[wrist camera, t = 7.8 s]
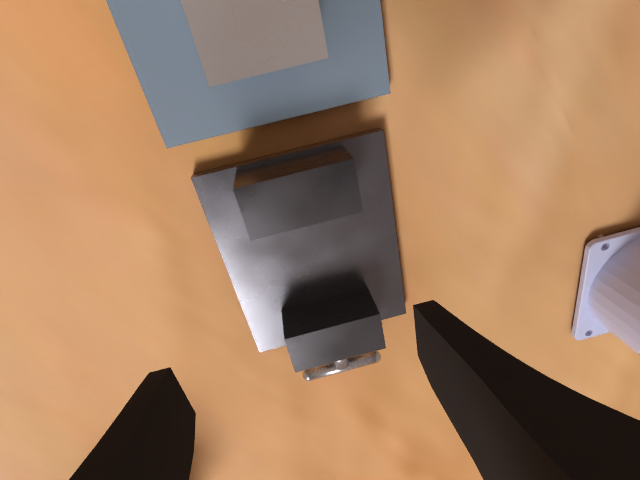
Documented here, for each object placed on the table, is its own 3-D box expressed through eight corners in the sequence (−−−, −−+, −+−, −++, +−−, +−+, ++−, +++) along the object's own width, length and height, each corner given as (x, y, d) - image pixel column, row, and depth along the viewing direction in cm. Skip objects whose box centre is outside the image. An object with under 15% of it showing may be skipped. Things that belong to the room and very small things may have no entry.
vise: (379, 127, 18) (401, 141, 15) (405, 329, 24) (424, 364, 21) (192, 174, 17) (181, 196, 15) (267, 366, 23) (269, 407, 21)
